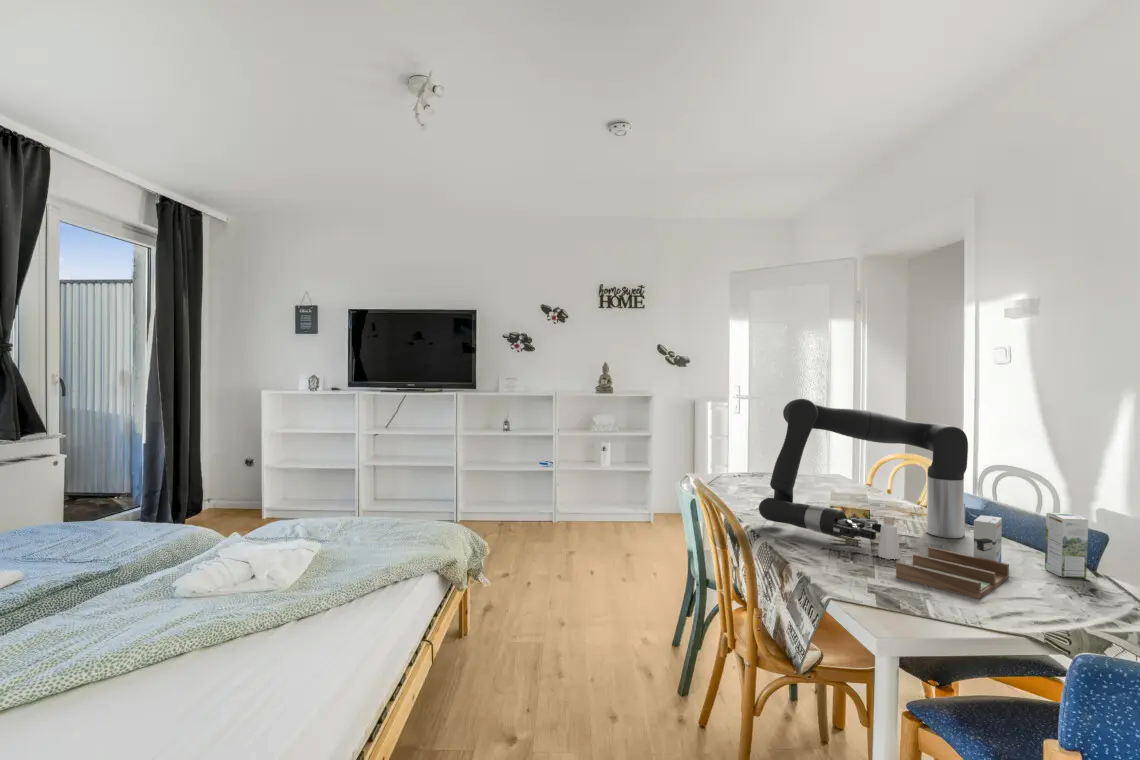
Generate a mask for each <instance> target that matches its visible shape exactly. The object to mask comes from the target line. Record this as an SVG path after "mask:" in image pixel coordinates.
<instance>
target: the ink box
mask: <svg viewBox="0 0 1140 760" xmlns="http://www.w3.org/2000/svg"><path fill="white" fill-rule="evenodd" d="M1002 523H1003V518H1002V517H998V516H991V515H982V514H980V515H979V516H977V517H976V518H975V519H974V520H973V556H974V557H979V558H983V559H988V560H992V561H997V562H1001V563H1002V544H1003V543H1002V539H1003V538H1002V537H1003V536H1002V535H1003V534H1002V531H1003V530H1002V529H1003V528H1002V525H1003V524H1002Z"/></svg>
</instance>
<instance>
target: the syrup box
mask: <svg viewBox="0 0 1140 760" xmlns="http://www.w3.org/2000/svg"><path fill="white" fill-rule="evenodd" d="M1088 534H1089V520H1088V519H1087V518H1086V517H1083V516H1081V515H1078V514H1075V513H1069V512H1068V513H1065V512H1064V513H1063V512H1062V513H1061V512H1046V513H1045V544H1044V545H1045V546H1044V548H1045V549H1044V550H1045V551H1044V570H1046V571H1047V570H1048V571H1047V572H1050V573H1052V574H1054V575H1056V576H1058V577H1060V576H1061V578H1074V577H1075V578H1077V579H1078V578H1080V579H1086V578H1087V569H1088V568H1087V566H1088V541H1089V540H1088V538H1089V535H1088Z"/></svg>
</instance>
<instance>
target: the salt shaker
mask: <svg viewBox="0 0 1140 760" xmlns="http://www.w3.org/2000/svg"><path fill="white" fill-rule="evenodd" d="M882 517H883V521H882V522H883V523H880V524H881V531H880V532H879V541H878V547H877V555H878V557H879V558H881V557H882V559H884V558H885V560H890V559H894V560H893V561H896V560H895V559H897V560H900V559H901V555H900V545H899V543H900V542H899V534H898V526H897V525H896V521H895V519H896V516H895V515H893V514H883V516H882Z"/></svg>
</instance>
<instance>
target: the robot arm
mask: <svg viewBox="0 0 1140 760" xmlns="http://www.w3.org/2000/svg"><path fill="white" fill-rule="evenodd" d="M782 410H783V411H782V416H783V419H784V420H785V422H786V423H787V428H786V433H785V438H784V442H783V443H782V447H781V450H780V451H779V454H778V456H777V457H776V461H775V464H774V467H773V471H772V474H771V479H770V482H769V483H770V484H769V486H770V488H771V489H772V490H773V491H774V493H773V497H767V498H764V499H762V500H761V502H760V503H759V505H758V511H759V514H760V516H761V517H762V518H763V519H765V520H767V521H770V522H775V523H782V524H786V525H787V524H788V525H791V526H794V527H798V528H802V529H807V530H811V531H813V532H816V533H820V534H824V535H827V536H828V535H829V536H833V537H836V538H840V537H846V538H850V539H855V538H864V539H867V540H872V541H875V540H876V539H877V533H880V531H881V524H882V523H879V522H878V520H876V519H871V518H866V517H865V518H864V517H860V516H855V517H849V518H848V517H847V515H846V513H845V511H843V510H841V509H836V508H830V507H825V506H819V505H809V504H805V503H798V502H796V503H795V502H794V488H795V483H796V481H797V480H796V479H797V476H798V473H799V472H798V471H799V468H800V465H801V461H802V456H803V454H804V450H805V447H806V444H807V442H808V439H809V436H810V434H811V432H812V430H821V431H828V432H830V433H835V434H838V435H842V436H846V437H848V438H853V439H858V440H862V441H867V442H873V443H879V444H880V443H881V444H901V445H909V446H913V447H916V448H920V449H923V450H927V451H931V452H932V461H931V462H932V463H931V464H930V466H928V467H927V491H926V492H927V493H926V494H927V495H926V496H927V497H926V498H927V501H926V505H927V508H926V509H927V510H926V511H927V512H926V513H927V514H926V531H927V532H926V533H928V534H930V535H932V536H936V537H939V538H946V539H947V538H948V539H960V538H963V537H964V536H965V535H966V504H965V503H964V501H965V500H964V499H965V498H964V497H965V494H964V493H965V491H964V490H965V487H964V486H965V484H964V483H965V474H966V471H967V468H968V459H969V457H968V455H969V442H968V436H967V434H966V433H965V431H964V430H963V429H961V428H960V427H957V426H955V425H951V424H945V423H931V422H930V423H929V422H919V421H911V420H906V419H904V418H900V417H897V416H894V415H890V414H886V413H882V412H877V411H871V410H865V409H854V408H853V409H852V408H835V407H829V406H828V407H827V406H823V405H818V404H815V403H814V402H813V401H812V400H810V399H807V398H795V399H794V400H792V401H789V402H787V404H786V405H785V406H784V408H783V409H782Z"/></svg>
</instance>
